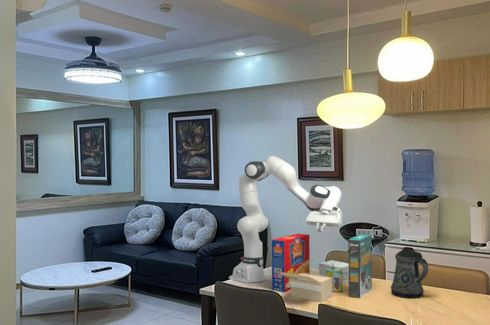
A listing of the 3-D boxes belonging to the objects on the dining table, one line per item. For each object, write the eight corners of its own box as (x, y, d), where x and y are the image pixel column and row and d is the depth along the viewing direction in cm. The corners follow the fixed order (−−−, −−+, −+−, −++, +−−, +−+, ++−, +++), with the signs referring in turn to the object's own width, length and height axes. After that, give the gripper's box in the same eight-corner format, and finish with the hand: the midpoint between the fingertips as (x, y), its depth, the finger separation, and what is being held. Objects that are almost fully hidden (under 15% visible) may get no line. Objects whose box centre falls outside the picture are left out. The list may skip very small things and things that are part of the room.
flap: (290, 279, 251) (280, 274, 243) (291, 276, 251) (280, 272, 243) (317, 283, 241) (308, 279, 233) (318, 281, 242) (308, 276, 233)
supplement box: (318, 278, 293) (318, 262, 293) (332, 274, 302) (332, 259, 302) (341, 283, 280) (341, 267, 281) (354, 279, 289) (354, 263, 289)
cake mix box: (360, 287, 270) (360, 234, 270) (371, 288, 267) (371, 234, 267) (348, 296, 251) (348, 239, 251) (360, 298, 248) (359, 240, 248)
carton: (290, 296, 252) (290, 276, 252) (302, 291, 262) (301, 272, 262) (321, 302, 242) (320, 281, 242) (332, 296, 251) (331, 277, 251)
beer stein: (393, 289, 266) (393, 244, 266) (430, 293, 257) (430, 246, 257) (388, 296, 251) (388, 248, 251) (427, 301, 242) (427, 251, 242)
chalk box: (342, 292, 259) (342, 265, 259) (325, 291, 261) (325, 264, 261) (342, 288, 268) (342, 261, 268) (326, 287, 270) (326, 261, 270)
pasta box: (284, 292, 261) (284, 241, 261) (272, 290, 265) (271, 239, 265) (309, 282, 283) (309, 234, 283) (297, 280, 288) (297, 233, 288)
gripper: (309, 206, 272) (300, 225, 264) (342, 208, 260) (334, 228, 252) (312, 214, 275) (304, 233, 268) (345, 216, 263) (338, 236, 255)
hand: (319, 230), depth 260 cm, fingers closed
